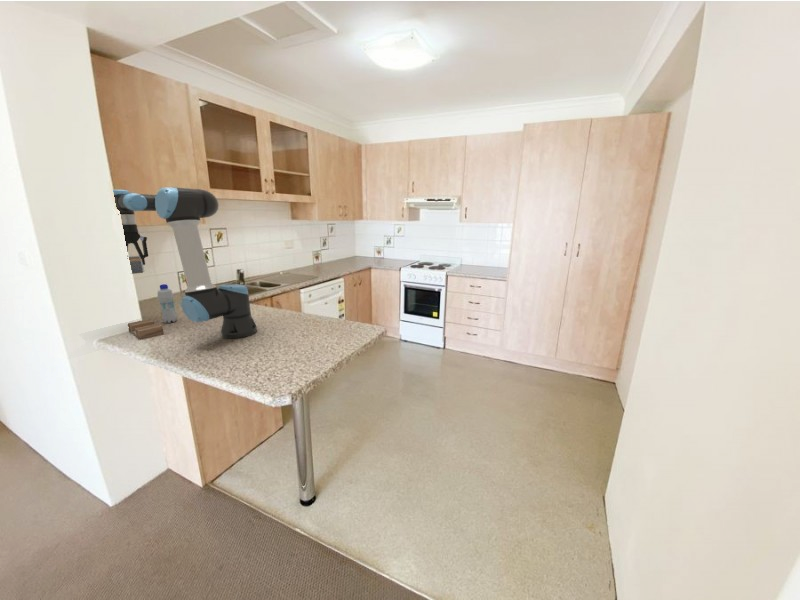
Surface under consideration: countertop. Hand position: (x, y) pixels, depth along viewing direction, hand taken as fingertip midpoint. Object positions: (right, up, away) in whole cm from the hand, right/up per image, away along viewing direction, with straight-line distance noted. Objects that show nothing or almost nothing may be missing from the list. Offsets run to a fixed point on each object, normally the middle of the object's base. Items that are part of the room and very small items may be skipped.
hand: (136, 272), depth 161 cm
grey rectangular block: (0, 0, 0) cm, 0 cm away
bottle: (+10, -25, +9) cm, 29 cm away
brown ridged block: (+10, -29, -7) cm, 32 cm away
